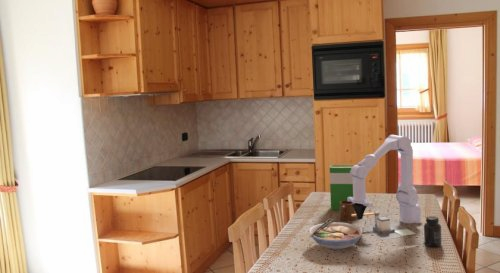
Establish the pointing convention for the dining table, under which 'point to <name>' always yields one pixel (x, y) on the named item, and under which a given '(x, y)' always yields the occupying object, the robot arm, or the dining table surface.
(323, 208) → the dining table surface
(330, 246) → the ramen bowl
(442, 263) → the dining table surface
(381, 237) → the socket board
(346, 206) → the mug
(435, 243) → the supplement bottle
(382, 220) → the plug
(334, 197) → the green cereal box
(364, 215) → the orange flat bar
